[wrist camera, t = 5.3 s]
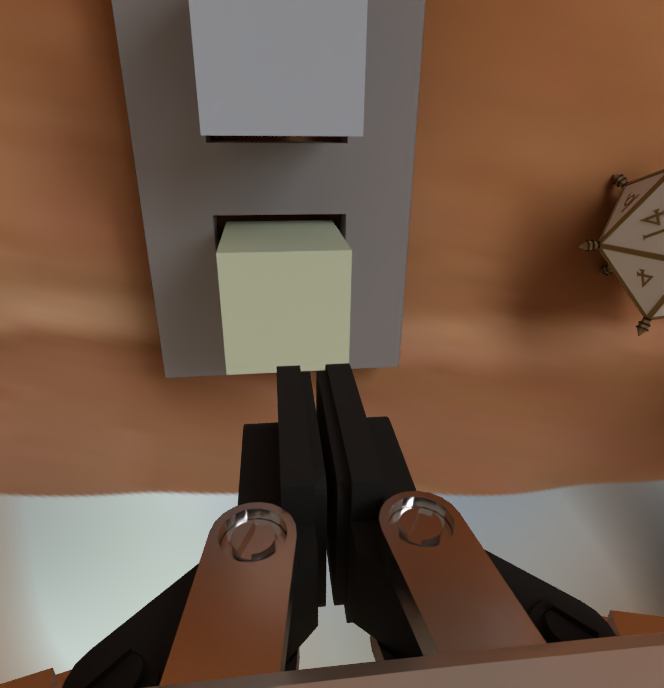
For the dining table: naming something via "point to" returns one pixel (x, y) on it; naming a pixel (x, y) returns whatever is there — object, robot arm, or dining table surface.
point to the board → (268, 181)
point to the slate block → (280, 66)
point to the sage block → (284, 295)
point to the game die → (637, 244)
